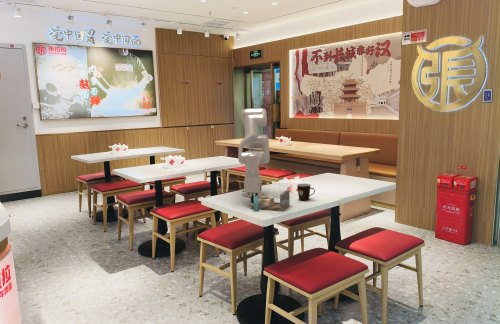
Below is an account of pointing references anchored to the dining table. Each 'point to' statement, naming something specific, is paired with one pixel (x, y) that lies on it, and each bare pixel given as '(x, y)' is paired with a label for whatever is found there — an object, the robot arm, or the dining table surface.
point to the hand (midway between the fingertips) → (253, 202)
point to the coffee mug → (304, 191)
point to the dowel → (256, 203)
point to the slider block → (266, 201)
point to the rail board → (278, 206)
